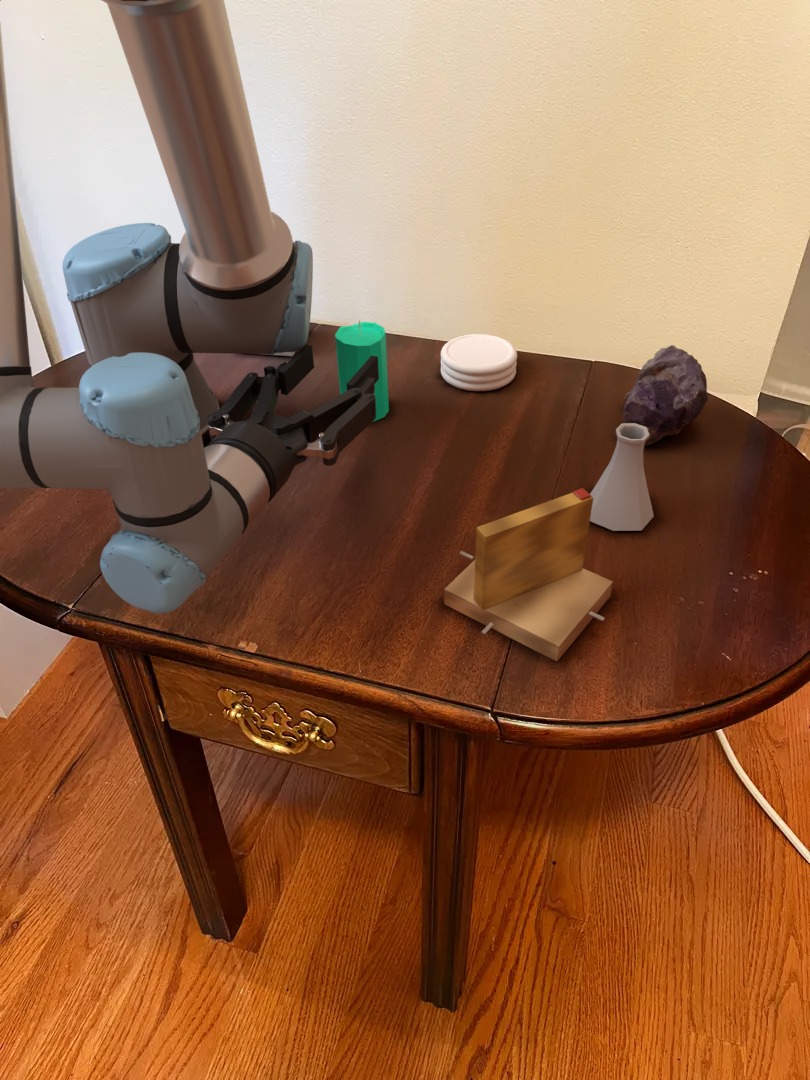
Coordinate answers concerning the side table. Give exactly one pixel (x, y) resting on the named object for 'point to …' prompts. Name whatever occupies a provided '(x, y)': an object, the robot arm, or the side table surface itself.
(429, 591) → the side table surface
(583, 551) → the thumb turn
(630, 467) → the flask
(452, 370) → the coaster
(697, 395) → the rock
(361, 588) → the side table surface
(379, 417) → the candle
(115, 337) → the robot arm
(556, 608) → the plate
